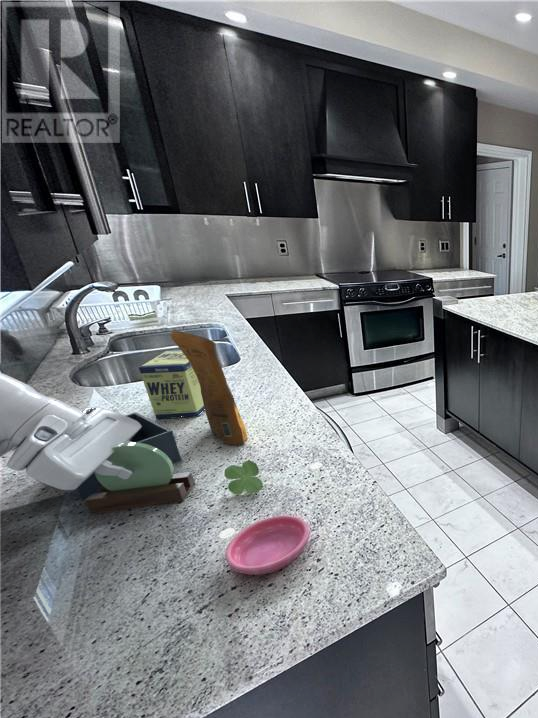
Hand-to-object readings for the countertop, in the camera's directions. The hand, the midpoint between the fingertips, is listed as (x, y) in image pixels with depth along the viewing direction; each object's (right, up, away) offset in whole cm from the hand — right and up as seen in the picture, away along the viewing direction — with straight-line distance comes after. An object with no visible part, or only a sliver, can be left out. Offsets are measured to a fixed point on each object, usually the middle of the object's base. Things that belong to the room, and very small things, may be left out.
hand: (138, 467), depth 79 cm
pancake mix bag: (-1, +3, +26) cm, 26 cm away
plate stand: (-1, -7, +3) cm, 7 cm away
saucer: (+32, -13, -9) cm, 36 cm away
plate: (-1, -1, 0) cm, 1 cm away
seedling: (+18, -6, +8) cm, 20 cm away
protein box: (-22, +10, +40) cm, 47 cm away
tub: (-16, -2, +12) cm, 20 cm away
